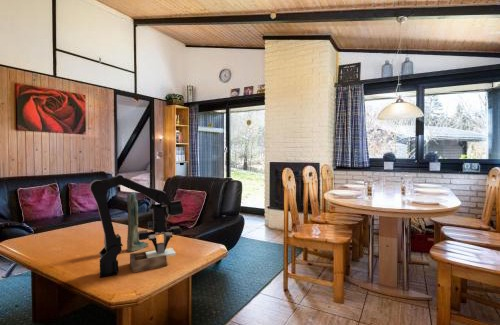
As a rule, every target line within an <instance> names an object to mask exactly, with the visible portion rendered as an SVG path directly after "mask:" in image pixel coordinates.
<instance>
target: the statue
mask: <svg viewBox="0 0 500 325" xmlns="http://www.w3.org/2000/svg"><path fill="white" fill-rule="evenodd" d="M137 193H138V192H129V194H127V238H126V239H127V240H126V242H127V243H126V249H125V250H126V252H130V253H134V252H137V251H138V250H143V249H145V248H147V247H149V242H147V241H146V242H145V241H141V240H139V239H138V232H139V212H138V211H139V205H138V204H139V203H138V202H139V201H138V200H137V195H138V194H137Z"/></svg>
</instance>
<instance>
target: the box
mask: <svg viewBox="0 0 500 325" xmlns="http://www.w3.org/2000/svg"><path fill="white" fill-rule="evenodd" d="M149 251H155V249H151V250H145V251H138V252H137V251H136V252H130V253H129V264H130V268H132V269H131V272H132V273H133V272H134V273H138V272H143V271H144V272H145V271H149V269H150V270H154V269H159V268H164V267H167V257H166V255H164V256H158V257H153V258H147V256H146V252H149Z"/></svg>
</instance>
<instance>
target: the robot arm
mask: <svg viewBox="0 0 500 325" xmlns="http://www.w3.org/2000/svg"><path fill="white" fill-rule="evenodd" d="M118 186H123V187H125V188H127V189H129V190H132V191H135V192H136V193H139V194H142V195H144V196H145V197H146V198H148V199H150V201H152V202H155V204H154V203H152V202H150V204H149V205H148V206H147V208H148V209H149V210H152V220H150V221H147V228H148V230H149V229H151V231H148V230H138V239H139V241H144V240H149V241H151V242H152V244H153V247H154V250H156V252H157V238H156V236H159V235H160V236H161V235H163V243H164V250H165V249H167V248H168V247H167V246H168V244H169V241H170V240H171V238H173V237H174V236H176V235H178V236H179V235H182V233H183V231H182V228H181V226H179V225H175V226H171V227H170V228H169V229H167V215H168V216H169V217H174V216H182V215H183V214H184V208H183V205H182V200H179V199H178V200H174V201H170V200H169V198H168V196H167V192H165V191H163V190H160V189H158V188H154V187H148V186H146V185H144V184H141V183H139V182H137V181H134V180H131V179H130V178H127V177H125V176H124V175H121V174H117V175H115V176H112V177H108V178H105V179H102V180H101V179H94V180H92V181H91V182H90V184H89V190H90V193H91V194H92V196H93V198H94V200H95V202H96V205H97V209H98V214H99V218H100V222H101V225H102V229H103V234H104V238H103V239H104V242H103V243H104V247H103V248H102V249H101V250H100V252H99V253H98V254H99V257H100V259H99V278H104V277H110V276H116V275H118V272H119V260H118V259H117V256H119V255H120V254H121V252H122V247H124V245H123V243H122V237H121V235H120V234H119V233H117V234H116V233H115V229H114V225H113V222H112V217H111V213H110V209H109V208H110V207H109V205H108V190H109V189H113V188H115V187H118ZM162 204H163V205H162ZM172 234H174V236H173V235H172Z"/></svg>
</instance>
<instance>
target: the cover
mask: <svg viewBox="0 0 500 325" xmlns="http://www.w3.org/2000/svg"><path fill="white" fill-rule="evenodd" d="M154 250H155V249H154ZM148 251H149V252H146V256H147V258H153V257H158V256H164V255H166V258H168V257H173V256H176V255H177V253H176V251H175V250H174V248H173V247H166V249H165V250H164V242H158V243H157V252H156V250H155V251H150V250H148Z"/></svg>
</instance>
